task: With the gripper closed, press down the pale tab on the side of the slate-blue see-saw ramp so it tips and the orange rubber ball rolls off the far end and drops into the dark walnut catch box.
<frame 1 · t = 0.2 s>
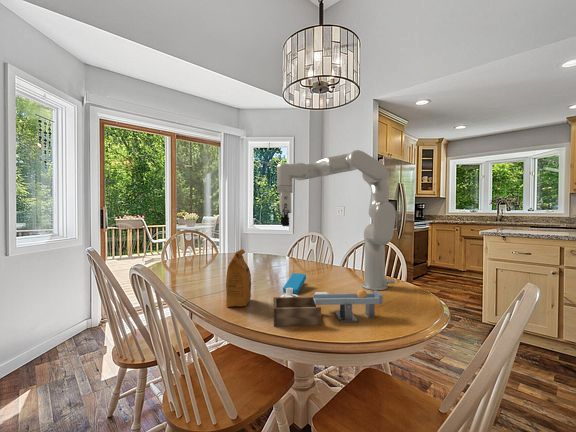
hand: (284, 225, 139), 31 cm above the table, fingers open, 9 cm apart
catch box: (295, 318, 103), on the table
coffee package: (239, 303, 120), on the table
stand: (345, 316, 105), on the table
teacup and saucer: (283, 299, 127), on the table, touching lever 2
ball: (362, 294, 105), point 8 cm above the table, touching lever
lever: (345, 294, 108), point 7 cm above the table, hinge at 0.0°, touching ball
lever 2: (296, 288, 141), on the table, touching teacup and saucer
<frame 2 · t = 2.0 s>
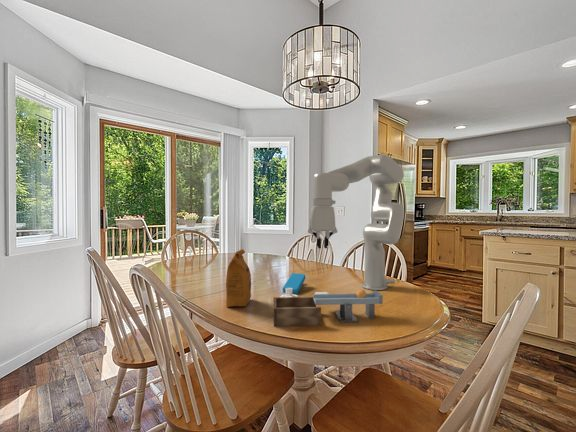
hand: (322, 247, 119), 23 cm above the table, fingers closed
ball: (361, 294, 105), point 8 cm above the table, tilted 10°, touching lever
everything else where it was.
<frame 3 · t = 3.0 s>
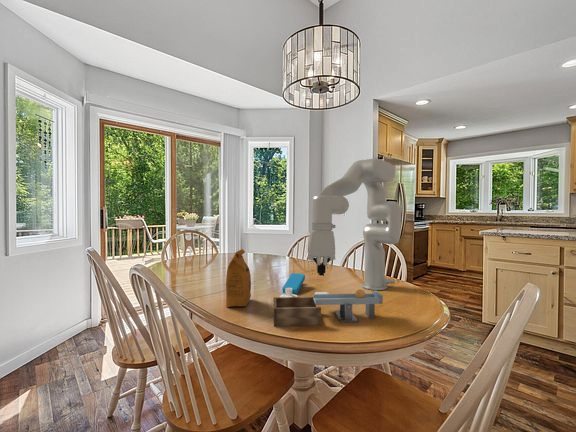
hand: (321, 274, 112), 14 cm above the table, fingers closed
ball: (360, 294, 105), point 8 cm above the table, tilted 21°, touching lever
everything else where it was.
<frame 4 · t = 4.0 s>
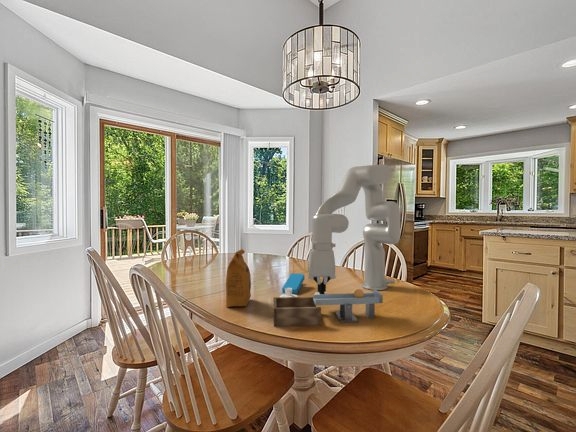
hand: (321, 293, 112), 6 cm above the table, fingers closed
ball: (359, 294, 105), point 8 cm above the table, tilted 36°, touching lever
lever: (344, 294, 108), point 7 cm above the table, hinge at 0.8°, touching ball, gripper
everything else where it was.
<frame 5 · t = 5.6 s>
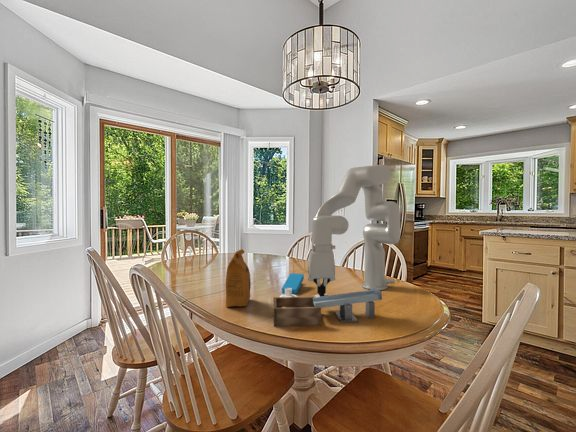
hand: (321, 295, 112), 6 cm above the table, fingers closed
coffee package: (238, 303, 120), on the table, touching teacup and saucer
teacup and saucer: (282, 299, 127), on the table, touching coffee package, lever 2
ball: (283, 311, 104), point 2 cm above the table, tilted 105°, touching catch box
lever: (344, 294, 108), point 7 cm above the table, hinge at 6.6°, touching gripper
everything else where it was.
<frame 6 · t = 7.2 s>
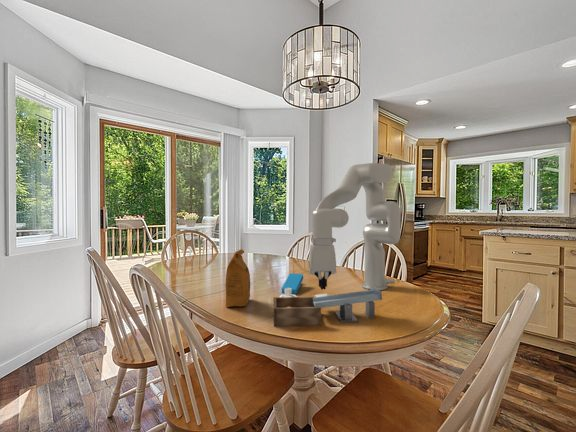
hand: (322, 288, 113), 8 cm above the table, fingers closed
coffee package: (238, 303, 120), on the table
teacup and saucer: (281, 299, 127), on the table, touching lever 2
ball: (289, 311, 104), point 2 cm above the table, tilted 166°, touching catch box
lever: (344, 294, 108), point 7 cm above the table, hinge at 6.6°
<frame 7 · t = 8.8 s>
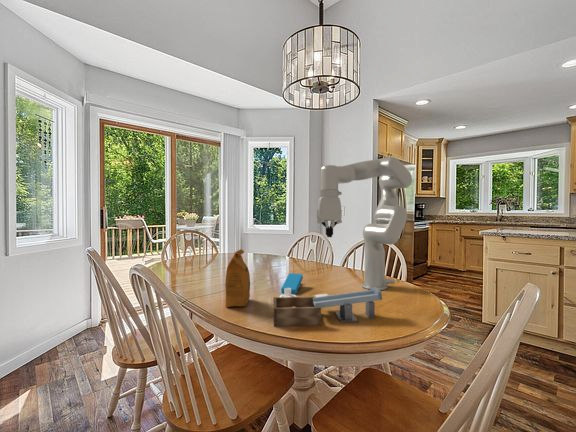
hand: (329, 236, 125), 27 cm above the table, fingers closed
teacup and saucer: (281, 299, 127), on the table
ball: (294, 311, 104), point 2 cm above the table, tilted 132°, touching catch box
lever 2: (293, 288, 141), on the table
everything else where it was.
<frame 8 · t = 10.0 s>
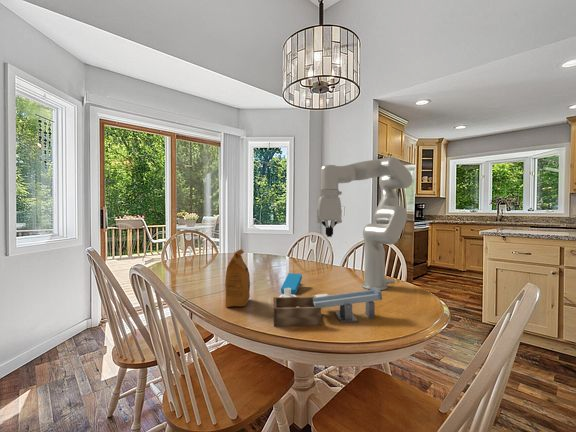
hand: (329, 236, 125), 27 cm above the table, fingers closed
teacup and saucer: (281, 299, 127), on the table, touching lever 2
ball: (298, 311, 104), point 2 cm above the table, tilted 86°, touching catch box
lever 2: (292, 288, 141), on the table, touching teacup and saucer
everything else where it was.
at the end: lever at +7° (first picture: +0°); ball inside the target area on the catch box (1.4 cm from its centre), point 2.2 cm above the catch box's base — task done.
